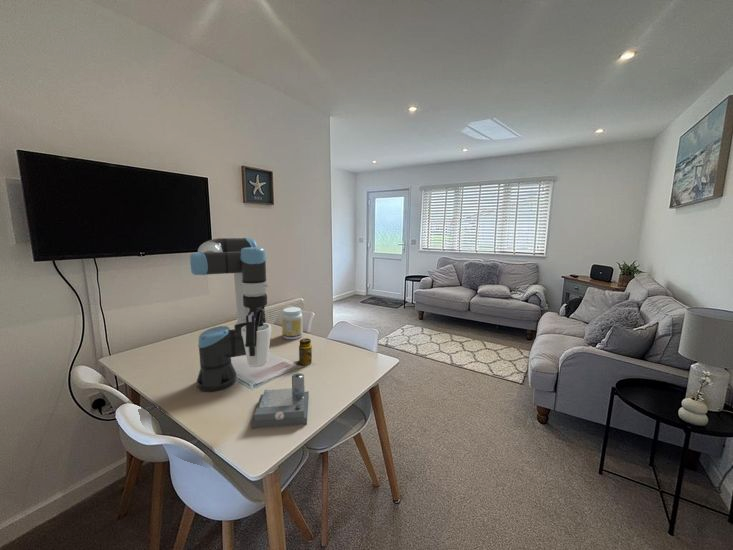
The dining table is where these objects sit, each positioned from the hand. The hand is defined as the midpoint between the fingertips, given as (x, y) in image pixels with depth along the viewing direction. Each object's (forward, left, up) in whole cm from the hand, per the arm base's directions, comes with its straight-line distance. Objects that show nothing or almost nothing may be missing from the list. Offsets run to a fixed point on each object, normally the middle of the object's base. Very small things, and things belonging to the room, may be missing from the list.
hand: (257, 357), depth 101 cm
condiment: (+13, +38, -22) cm, 46 cm away
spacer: (+13, +2, -17) cm, 22 cm away
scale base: (+8, +1, -22) cm, 23 cm away
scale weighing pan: (+8, +3, -19) cm, 20 cm away
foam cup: (0, 0, -2) cm, 2 cm away
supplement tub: (+5, +75, -22) cm, 78 cm away
